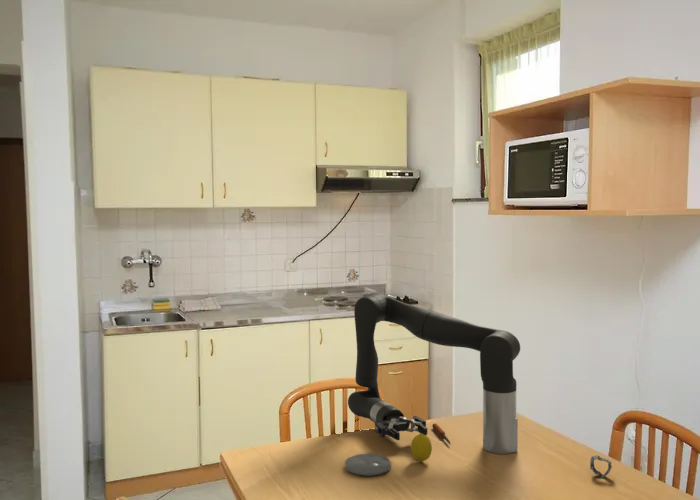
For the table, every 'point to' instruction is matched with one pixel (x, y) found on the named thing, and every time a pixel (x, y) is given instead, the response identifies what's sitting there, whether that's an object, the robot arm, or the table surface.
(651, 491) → the table surface
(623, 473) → the table surface
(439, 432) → the kitchen knife
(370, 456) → the dish
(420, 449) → the lemon
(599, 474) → the wristwatch
